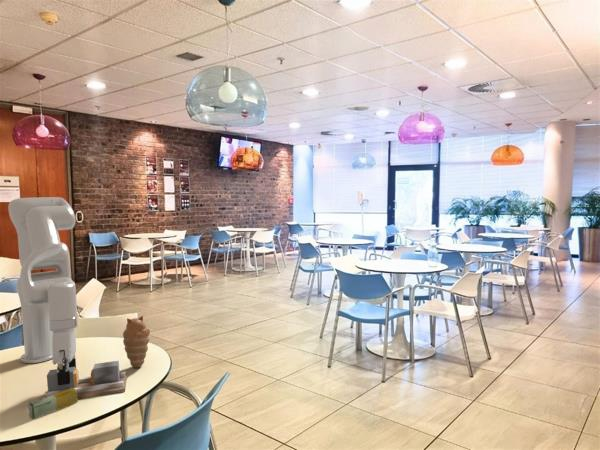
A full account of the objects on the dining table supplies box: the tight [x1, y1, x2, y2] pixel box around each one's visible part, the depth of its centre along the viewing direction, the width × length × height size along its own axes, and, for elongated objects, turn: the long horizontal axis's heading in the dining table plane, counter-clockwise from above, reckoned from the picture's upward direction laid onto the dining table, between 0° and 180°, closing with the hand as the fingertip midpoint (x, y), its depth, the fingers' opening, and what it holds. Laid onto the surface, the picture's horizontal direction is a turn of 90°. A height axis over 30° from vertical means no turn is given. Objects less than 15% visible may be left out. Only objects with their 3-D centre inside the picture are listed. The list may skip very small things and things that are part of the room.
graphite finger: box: [46, 367, 80, 392], centre depth 131 cm, size 4×8×6 cm, turn 109°
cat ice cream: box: [122, 315, 151, 369], centre depth 148 cm, size 9×8×18 cm
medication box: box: [28, 388, 78, 420], centre depth 121 cm, size 12×3×4 cm, turn 140°
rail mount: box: [44, 360, 128, 400], centre depth 133 cm, size 22×12×7 cm, turn 108°
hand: (67, 377), depth 131 cm, fingers open, 9 cm apart
